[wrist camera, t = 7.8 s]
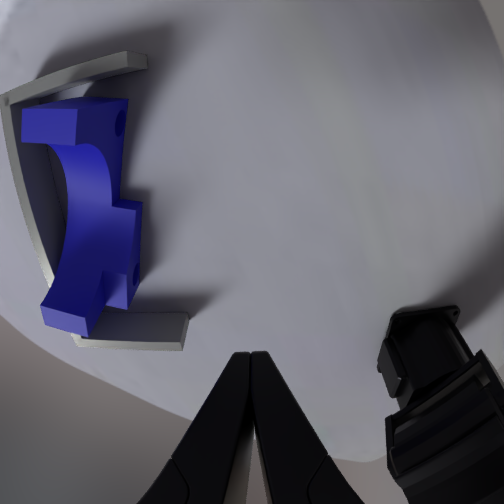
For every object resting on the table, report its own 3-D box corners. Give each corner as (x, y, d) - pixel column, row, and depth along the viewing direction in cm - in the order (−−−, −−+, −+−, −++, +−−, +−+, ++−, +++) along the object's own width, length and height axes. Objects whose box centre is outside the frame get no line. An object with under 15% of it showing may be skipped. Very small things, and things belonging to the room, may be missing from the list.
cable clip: (140, 282, 21) (112, 343, 16) (82, 270, 21) (44, 324, 16) (154, 101, 16) (110, 111, 10) (83, 96, 15) (22, 108, 10)
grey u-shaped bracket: (146, 54, 14) (126, 50, 11) (189, 320, 23) (182, 350, 20) (28, 90, 14) (-2, 95, 12) (91, 320, 23) (77, 346, 20)
